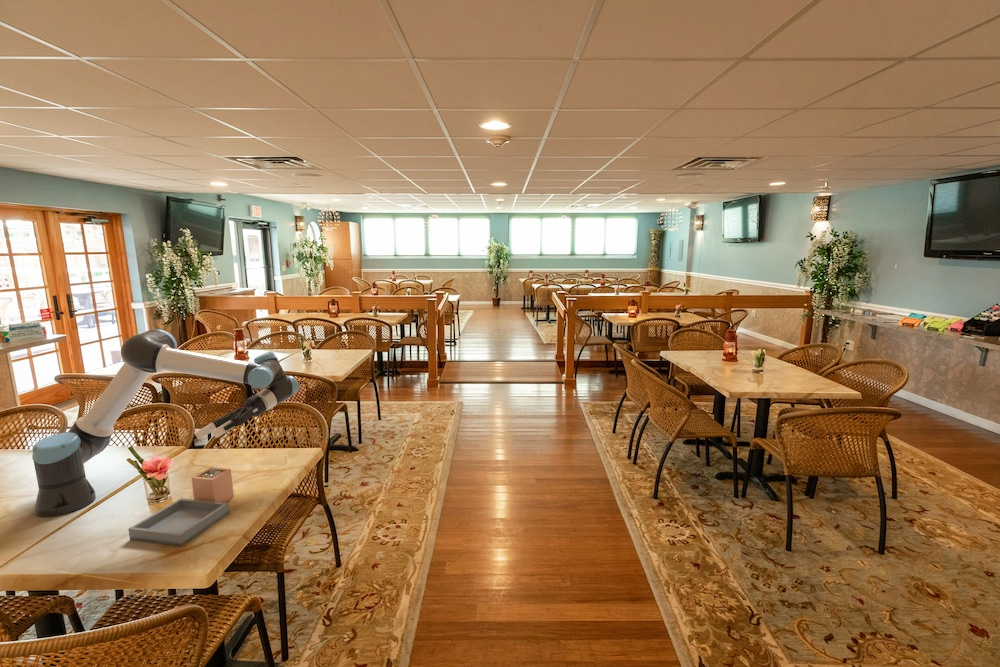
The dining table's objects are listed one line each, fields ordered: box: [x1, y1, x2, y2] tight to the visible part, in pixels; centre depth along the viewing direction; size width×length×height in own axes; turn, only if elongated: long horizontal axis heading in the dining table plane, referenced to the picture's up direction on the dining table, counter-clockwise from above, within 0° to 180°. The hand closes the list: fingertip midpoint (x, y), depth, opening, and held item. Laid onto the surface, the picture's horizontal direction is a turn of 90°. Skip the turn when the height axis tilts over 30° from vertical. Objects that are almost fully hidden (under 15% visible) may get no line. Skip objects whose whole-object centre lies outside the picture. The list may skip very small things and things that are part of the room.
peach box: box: [191, 467, 234, 503], centre depth 160 cm, size 8×8×11 cm
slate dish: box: [128, 497, 230, 547], centre depth 145 cm, size 18×18×4 cm
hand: (205, 435), depth 160 cm, fingers open, 13 cm apart
